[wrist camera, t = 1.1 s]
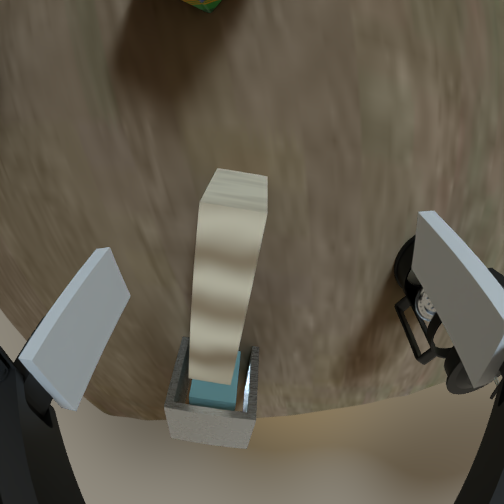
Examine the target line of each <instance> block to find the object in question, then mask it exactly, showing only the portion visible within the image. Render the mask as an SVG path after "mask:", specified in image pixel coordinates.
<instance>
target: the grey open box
mask: <svg viewBox="0 0 504 504" xmlns="http://www.w3.org/2000/svg"><path fill="white" fill-rule="evenodd" d="M189 349H190V338H189V337H182V341H181V345H180V348H179V352H178V355H177V359H176V363H175V366H174V370H173V374H172V378H171V381H170V385H169V389H168V393H167V397H166V401H165V405H164V410H165V415H166V419H167V424H168V428H169V432H170V436H171V438H173V439H179V440H185V441H190V442H196V443H203V444H209V445H217V446H225V447H234V448H245V449H247V446H248V443H249V440H250V437H251V434H252V431H253V428H254V425H255V422H256V411H257V388H258V365H259V347H255V346H252V350H251V355H250V360H249V365H248V370H247V375H246V380H245V386H244V399H243V412H239V411H230V410H222V409H215V408H208V407H201V406H195V405H189V404H185V401H186V396H187V392H188V387H189V382H190V378H189Z"/></svg>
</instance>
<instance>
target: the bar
mask: <svg viewBox="0 0 504 504" xmlns="http://www.w3.org/2000/svg"><path fill="white" fill-rule="evenodd" d="M267 184H268V177H267V176H262V175H256V174H250V173H244V172H238V171H232V170H226V169H219V168H217V170H216V172H215V174H214V176H213V178H212V179H211V181H210V183H209V185H208V187H207V189H206V191H205V193H204V195H203V197H202V199H201V201H200V204H199V215H198V225H197V236H196V248H195V261H194V274H193V289H192V306H191V325H190V349H189V378H191V379H196V380H201V381H207V382H213V383H219V384H226V385H231V381H232V377H233V372H234V368H235V363H236V358H237V354H238V349H239V345H240V340H241V335H242V331H243V326H244V321H245V317H246V312H247V307H248V303H249V298H250V293H251V289H252V284H253V279H254V275H255V270H256V265H257V261H258V256H259V251H260V246H261V242H262V237H263V232H264V227H265V223H266V218H267Z"/></svg>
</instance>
